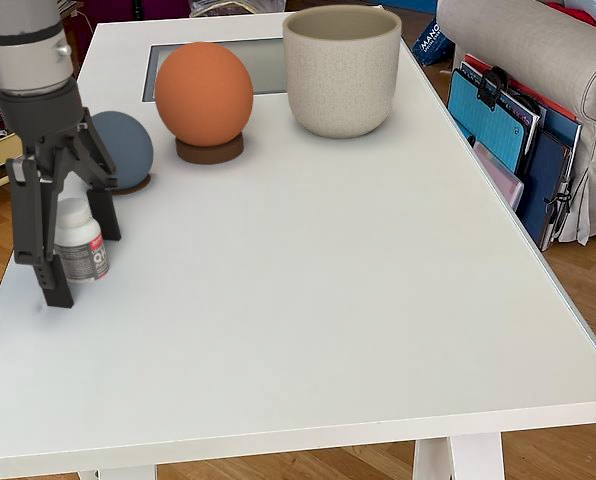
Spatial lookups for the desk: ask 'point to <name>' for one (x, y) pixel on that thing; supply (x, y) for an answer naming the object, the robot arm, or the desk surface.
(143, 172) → the slate ball
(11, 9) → the robot arm
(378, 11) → the planter
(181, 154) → the terracotta ball
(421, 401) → the desk surface
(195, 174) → the desk surface
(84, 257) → the pill bottle
